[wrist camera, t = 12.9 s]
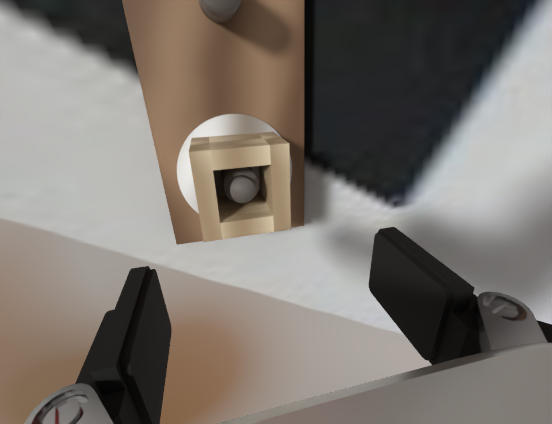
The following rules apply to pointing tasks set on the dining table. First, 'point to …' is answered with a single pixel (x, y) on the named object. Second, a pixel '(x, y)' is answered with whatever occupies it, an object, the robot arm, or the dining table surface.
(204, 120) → the hub board
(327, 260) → the dining table surface
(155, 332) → the robot arm
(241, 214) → the collar
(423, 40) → the dining table surface
